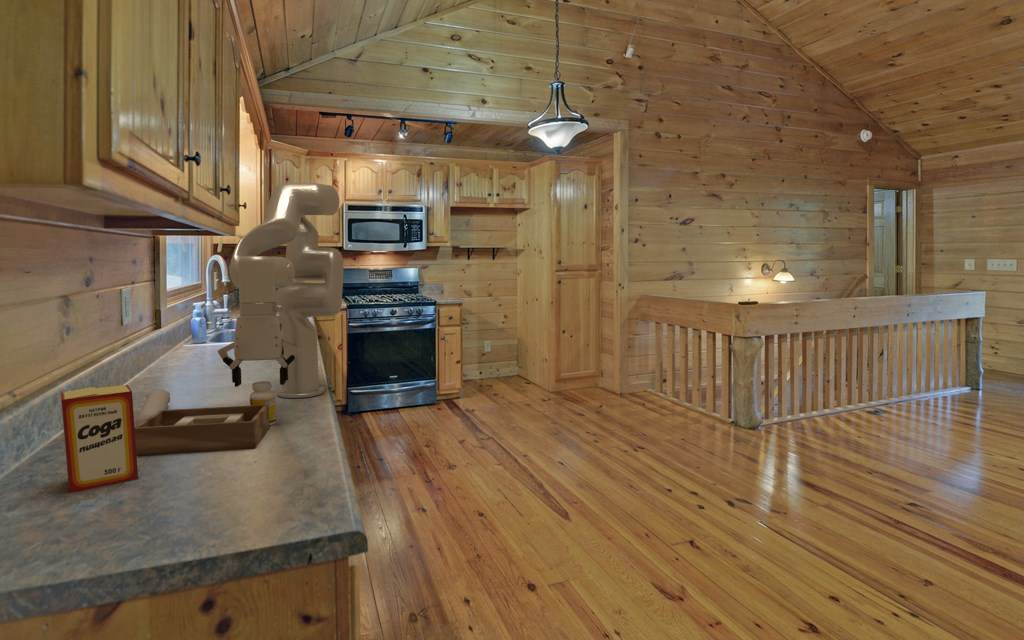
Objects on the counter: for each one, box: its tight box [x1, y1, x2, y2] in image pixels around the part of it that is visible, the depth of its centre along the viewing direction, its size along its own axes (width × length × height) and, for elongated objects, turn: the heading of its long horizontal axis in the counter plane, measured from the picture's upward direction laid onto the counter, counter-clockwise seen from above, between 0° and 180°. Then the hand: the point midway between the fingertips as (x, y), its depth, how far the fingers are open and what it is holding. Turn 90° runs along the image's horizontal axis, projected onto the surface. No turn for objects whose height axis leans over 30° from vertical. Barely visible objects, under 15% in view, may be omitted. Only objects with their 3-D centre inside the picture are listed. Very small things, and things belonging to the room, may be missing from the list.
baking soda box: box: [60, 384, 139, 494], centre depth 97 cm, size 10×6×16 cm
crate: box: [134, 405, 270, 457], centre depth 118 cm, size 14×22×6 cm, turn 102°
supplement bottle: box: [249, 380, 277, 427], centre depth 131 cm, size 5×5×10 cm
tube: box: [136, 388, 171, 426], centre depth 135 cm, size 5×5×25 cm
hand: (260, 384), depth 129 cm, fingers open, 9 cm apart
